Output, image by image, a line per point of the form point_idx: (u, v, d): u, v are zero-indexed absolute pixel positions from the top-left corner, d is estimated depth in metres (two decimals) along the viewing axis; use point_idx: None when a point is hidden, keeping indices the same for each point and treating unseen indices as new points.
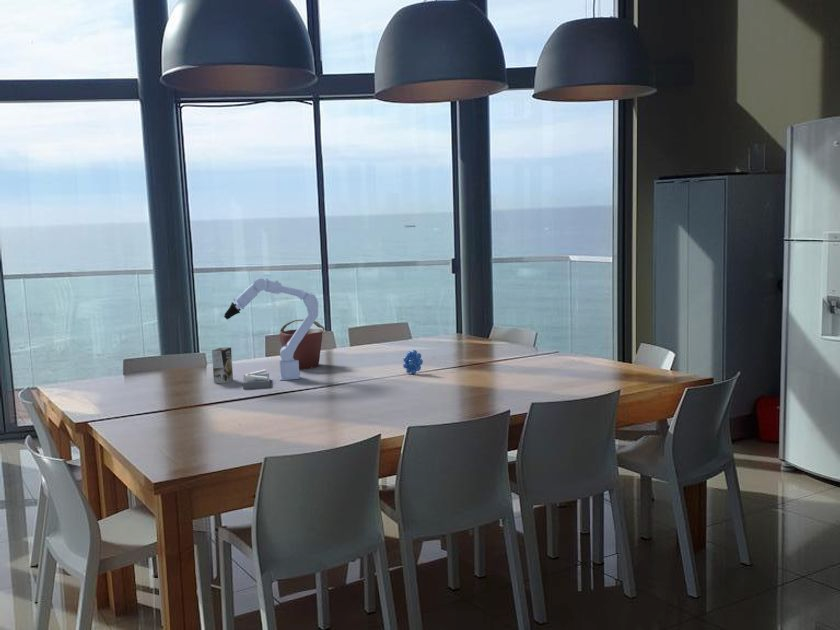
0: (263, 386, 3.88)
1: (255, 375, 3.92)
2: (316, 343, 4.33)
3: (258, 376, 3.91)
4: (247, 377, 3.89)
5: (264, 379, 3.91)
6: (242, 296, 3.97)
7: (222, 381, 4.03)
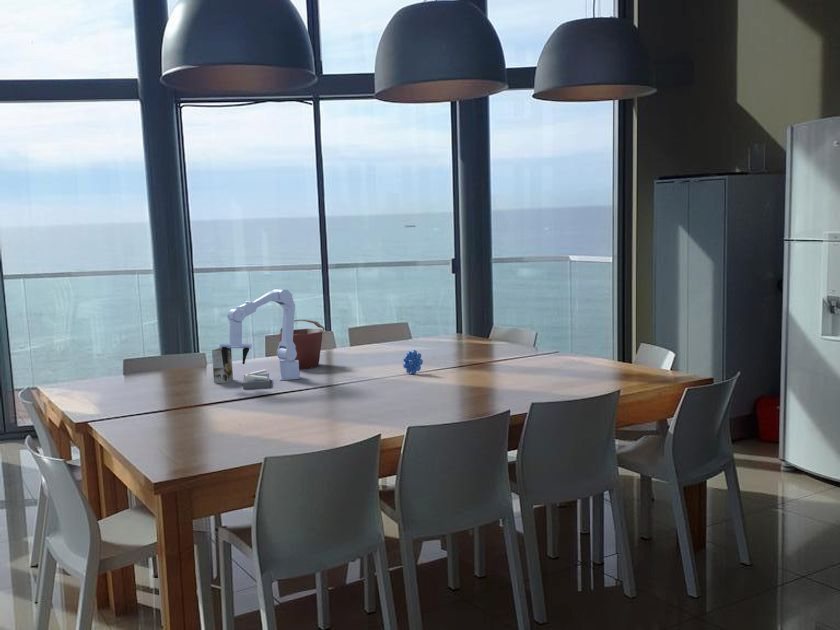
0: (263, 386, 3.88)
1: (255, 375, 3.92)
2: (316, 343, 4.33)
3: (258, 376, 3.91)
4: (247, 377, 3.89)
5: (264, 379, 3.91)
6: (239, 336, 3.87)
7: (222, 381, 4.03)
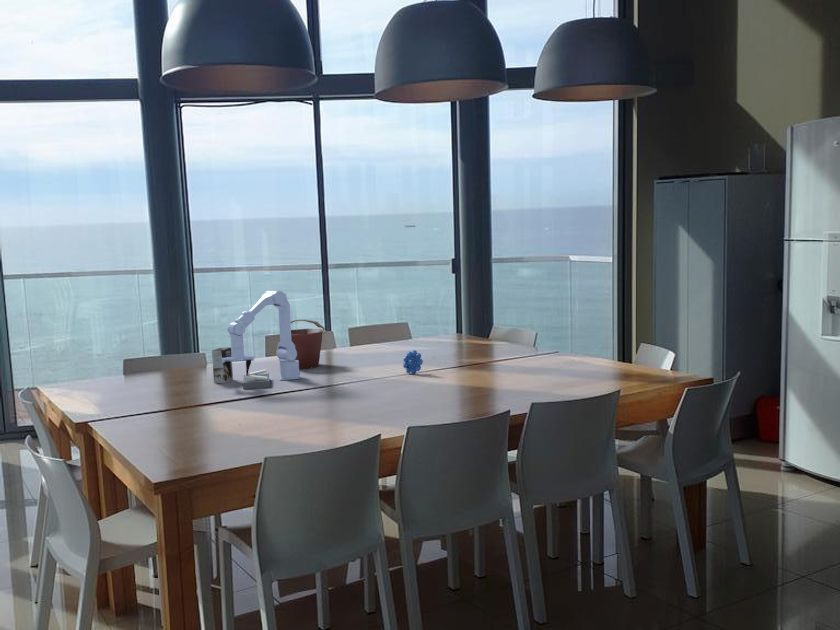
0: (263, 386, 3.88)
1: (255, 375, 3.92)
2: (316, 343, 4.33)
3: (258, 376, 3.91)
4: (247, 377, 3.89)
5: (264, 379, 3.91)
6: (242, 349, 3.87)
7: (222, 381, 4.03)
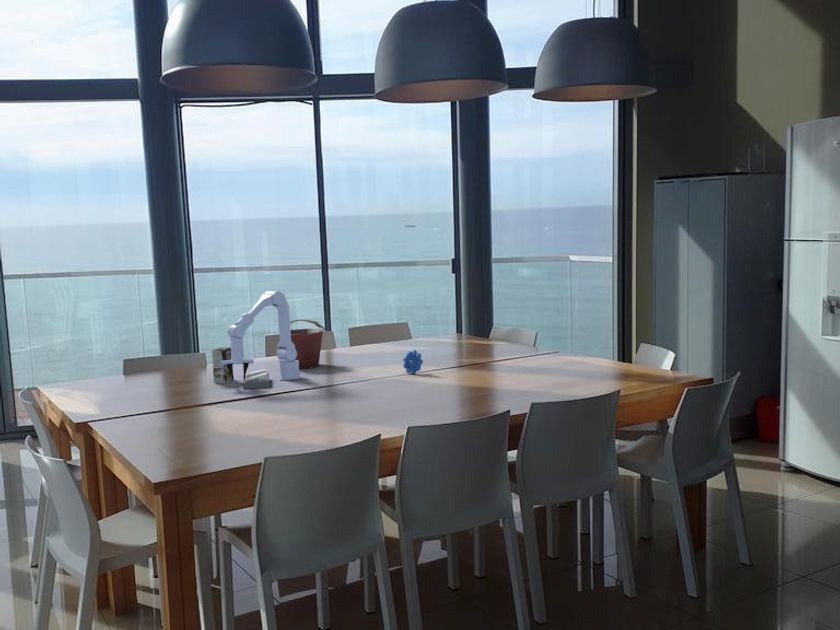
0: (263, 386, 3.88)
1: None
2: (316, 343, 4.33)
3: (257, 375, 3.91)
4: (247, 380, 3.89)
5: (264, 376, 3.90)
6: (242, 352, 3.87)
7: (222, 381, 4.03)
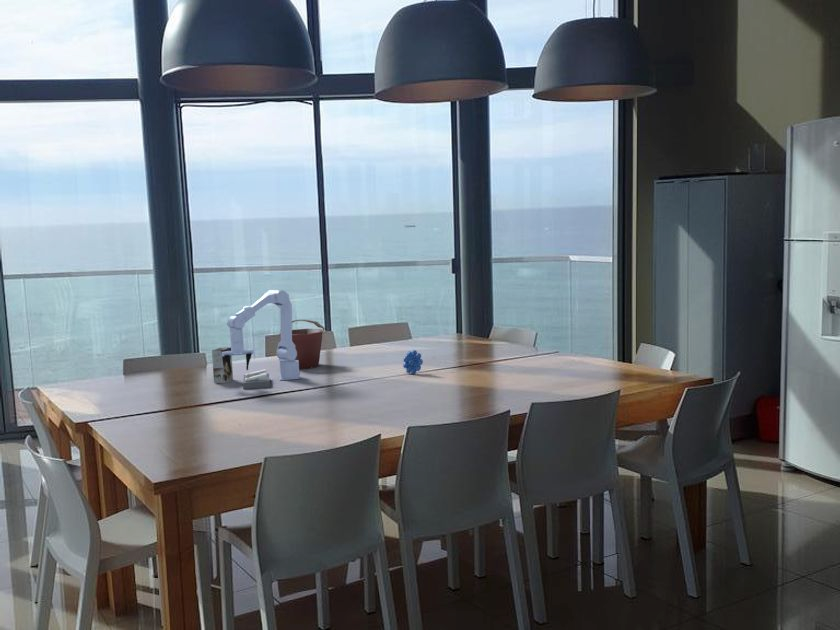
0: (263, 386, 3.88)
1: None
2: (316, 343, 4.33)
3: (257, 375, 3.91)
4: (247, 380, 3.89)
5: (264, 376, 3.90)
6: (242, 343, 3.87)
7: (222, 381, 4.03)
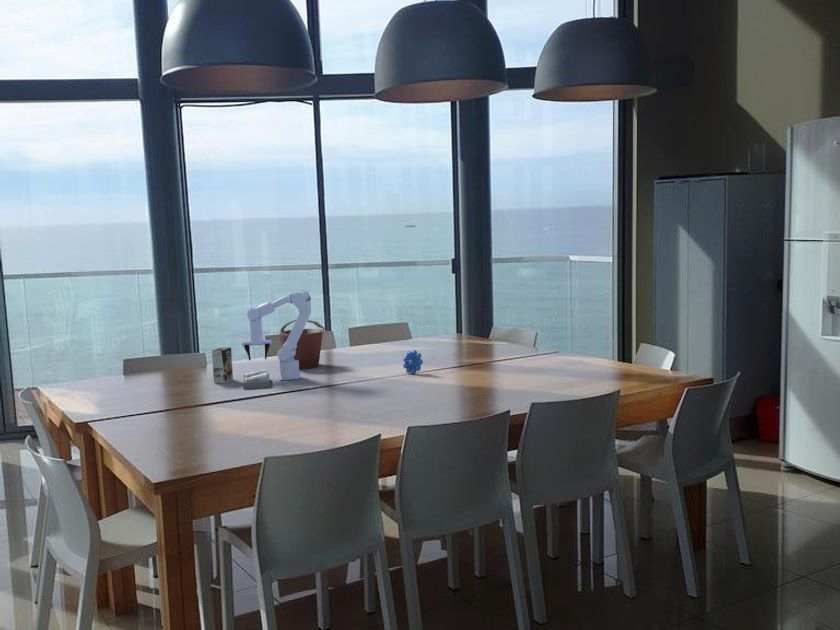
0: (263, 386, 3.88)
1: None
2: (316, 343, 4.33)
3: (257, 375, 3.91)
4: (247, 380, 3.89)
5: (264, 376, 3.90)
6: (260, 334, 4.08)
7: (222, 381, 4.03)
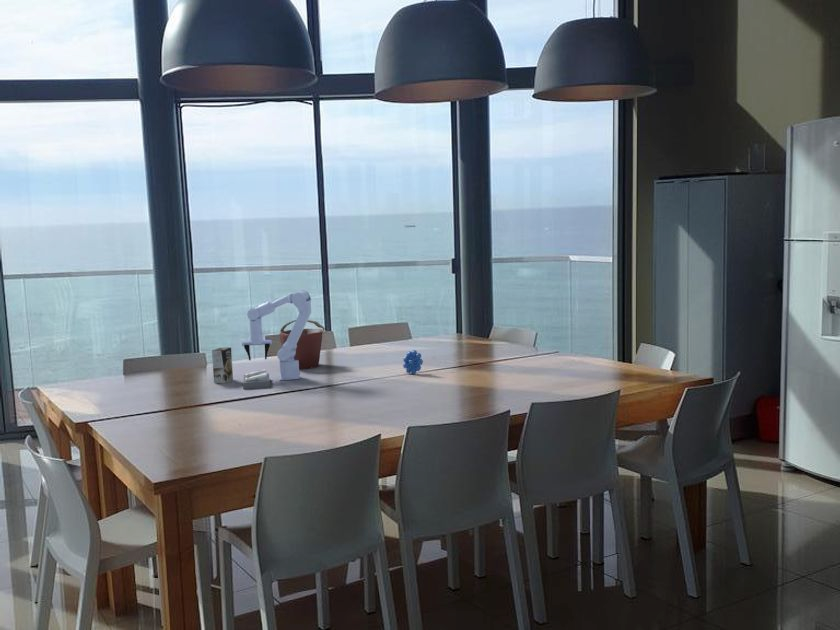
0: (263, 386, 3.88)
1: None
2: (316, 343, 4.33)
3: (257, 375, 3.91)
4: (247, 380, 3.89)
5: (264, 376, 3.90)
6: (260, 334, 4.08)
7: (222, 381, 4.03)
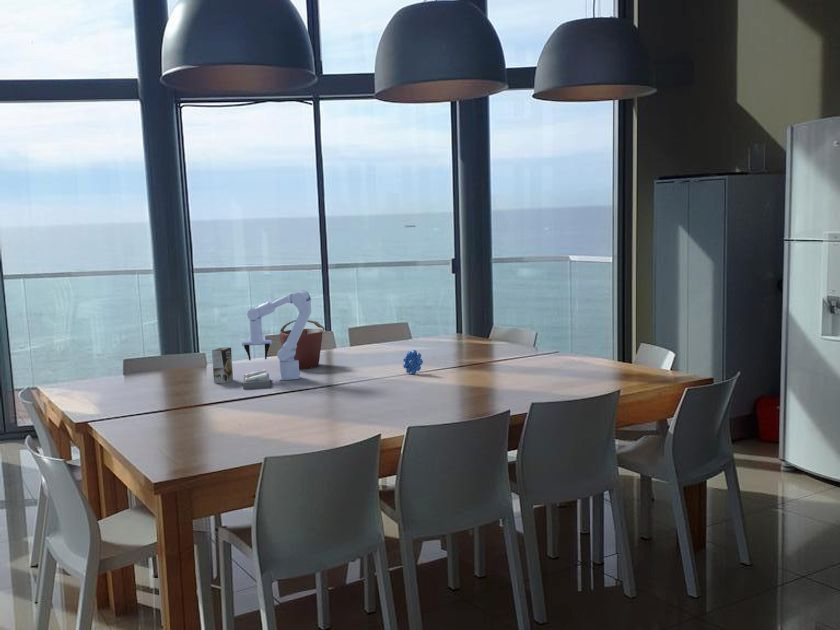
0: (263, 386, 3.88)
1: None
2: (316, 343, 4.33)
3: (257, 375, 3.91)
4: (247, 380, 3.89)
5: (264, 376, 3.90)
6: (260, 334, 4.08)
7: (222, 381, 4.03)
